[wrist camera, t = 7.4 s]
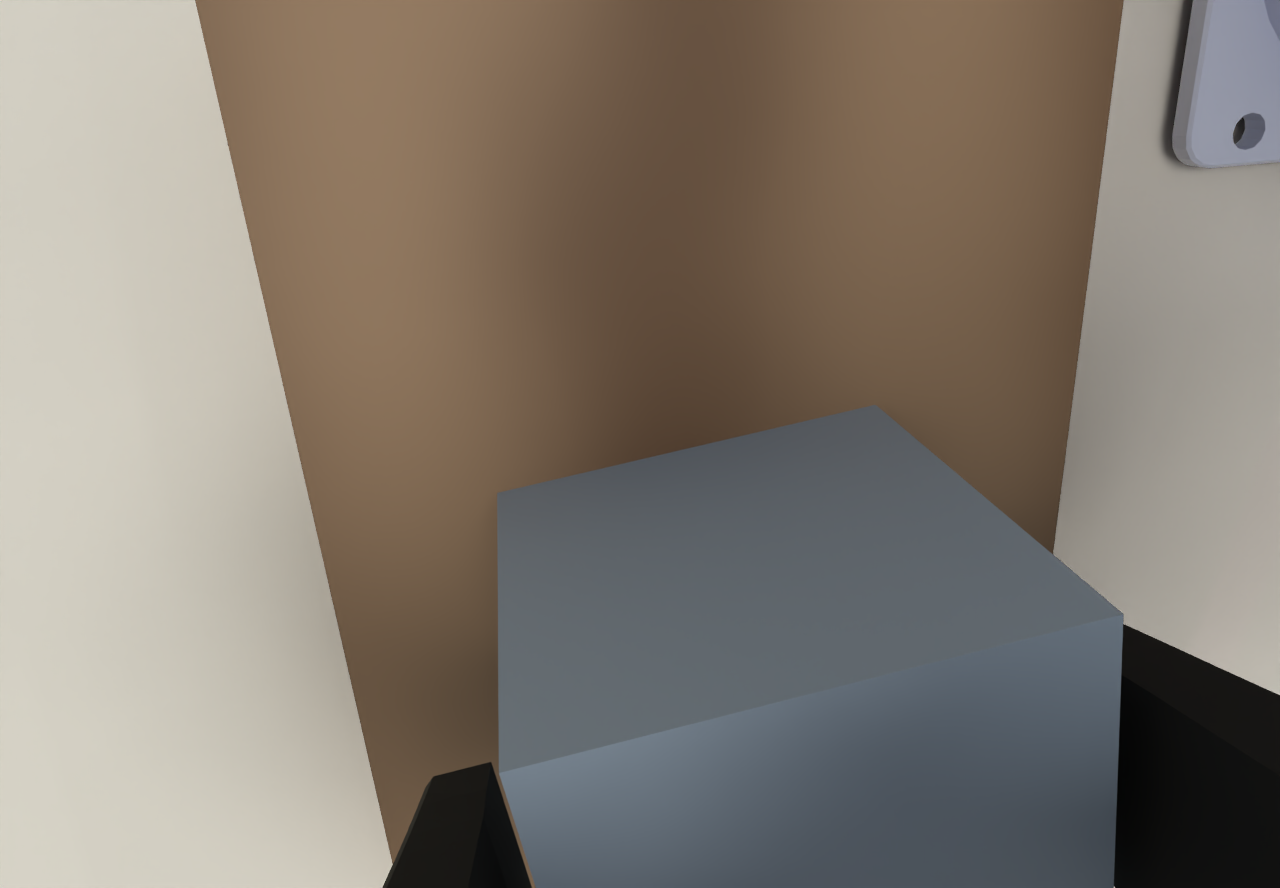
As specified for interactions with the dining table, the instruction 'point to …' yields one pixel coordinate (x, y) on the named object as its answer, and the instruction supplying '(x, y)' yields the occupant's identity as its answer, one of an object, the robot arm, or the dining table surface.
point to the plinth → (640, 270)
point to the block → (800, 674)
